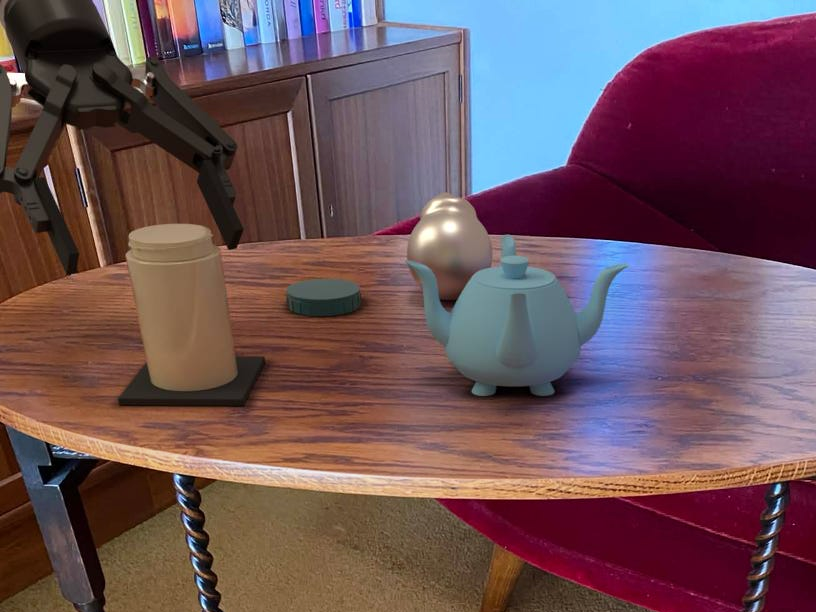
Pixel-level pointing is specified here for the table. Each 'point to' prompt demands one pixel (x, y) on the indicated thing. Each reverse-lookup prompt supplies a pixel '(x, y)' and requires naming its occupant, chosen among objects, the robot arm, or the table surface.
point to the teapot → (513, 323)
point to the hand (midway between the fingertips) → (158, 252)
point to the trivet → (224, 395)
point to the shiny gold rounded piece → (449, 244)
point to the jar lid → (323, 297)
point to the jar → (182, 307)
